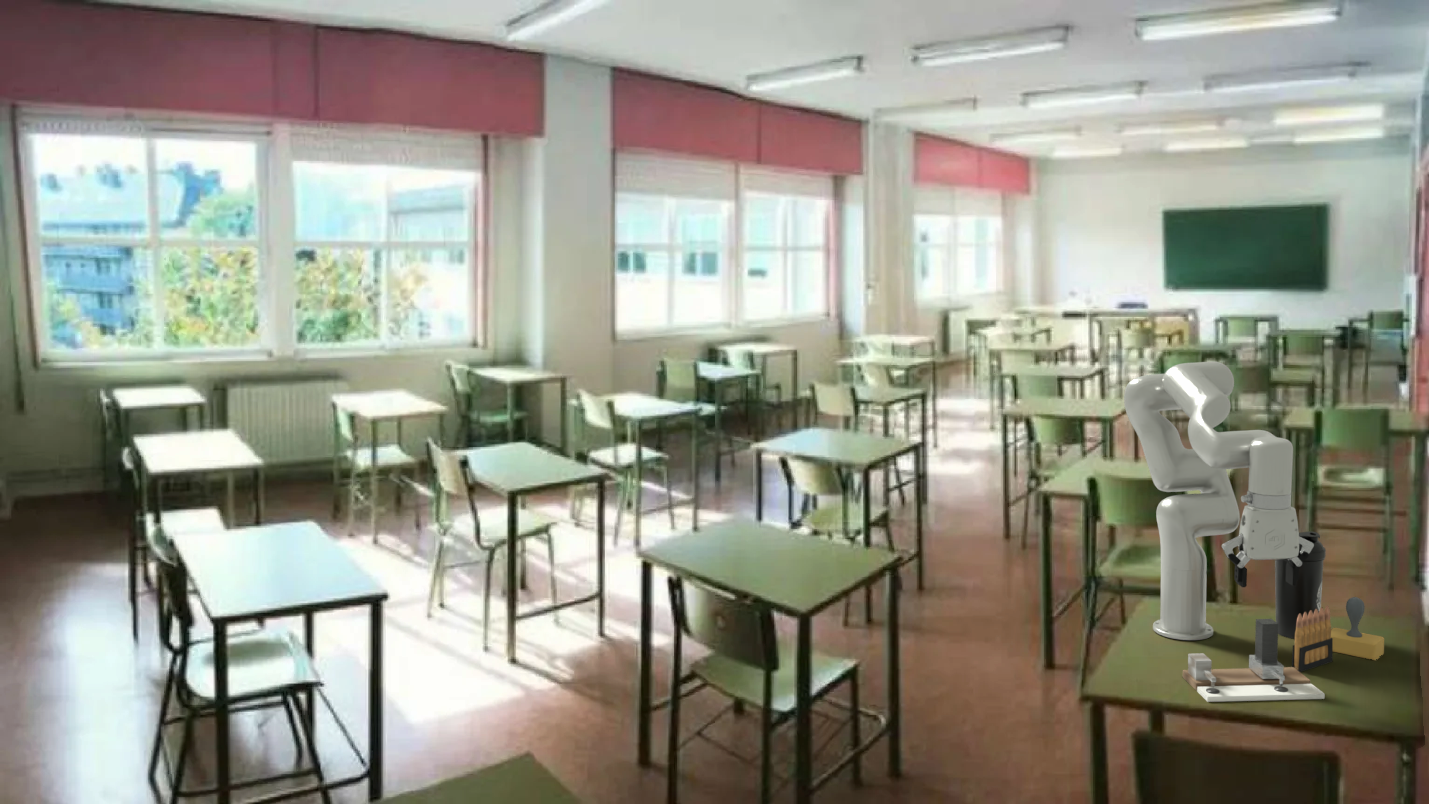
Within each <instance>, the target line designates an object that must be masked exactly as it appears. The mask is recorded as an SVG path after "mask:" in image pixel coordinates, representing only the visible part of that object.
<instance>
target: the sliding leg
mask: <svg viewBox="0 0 1429 804" xmlns="http://www.w3.org/2000/svg"><path fill="white" fill-rule="evenodd" d="M1254 637H1255V642H1254V643H1255V644H1254V647H1255V649H1254V654H1249V655H1248V668H1250V669H1251V670H1252V671H1253V672H1255V673H1256V674H1257V675H1258V676H1259V677H1261V678H1262V679H1279V680H1280V683H1279V685H1280V686H1283V680H1285V676H1284V675H1283V667H1284V664H1283V663H1281V662H1280V661H1278V652H1279V651H1278V649H1279V648H1278V646H1279V645H1278V644H1279V634H1278V623H1276V620H1274V619H1272V618H1255V636H1254Z"/></svg>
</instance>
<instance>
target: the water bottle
mask: <svg viewBox="0 0 1429 804" xmlns="http://www.w3.org/2000/svg"><path fill="white" fill-rule="evenodd" d="M1299 537H1302V538H1304V539H1306V540H1308V541H1310V542H1312V543H1313V544H1314V547H1313V548H1312V550H1311V552H1310V553H1309V556H1308V558H1306V559H1305V560H1304V561H1303V562H1302V565H1301V566H1299V578H1298V580H1297V585H1296V586H1292V585H1291V584H1289V583H1288V582H1286V563H1287V562H1289V560H1288V559H1276V560H1274V572H1275V574H1274V576H1275V579H1274V581H1275V622H1276V623H1278V636H1281V637H1285V638H1288V639H1293V640H1295V631H1296V623H1297V618H1298V615H1299V613H1300V614H1301V616H1302V618H1303V614H1304V612H1306V613H1307V616H1308V614H1309V612H1310V610H1311V611H1312V613H1313V614H1314V611H1315V609H1317V610H1318V613H1319V611H1320V608H1321V607H1322V594H1323V593H1322V591H1323V572H1324V560H1325V559H1326V553H1327V550H1326V547H1324V545H1323V544H1322V543H1321V541H1319V539H1320V538H1321V534H1319V532H1316V531H1302V532H1299ZM1301 549H1302V545H1301V544H1299V551H1300V550H1301Z"/></svg>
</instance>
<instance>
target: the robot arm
mask: <svg viewBox="0 0 1429 804" xmlns="http://www.w3.org/2000/svg"><path fill="white" fill-rule="evenodd" d="M1234 386H1235V379H1234V374H1233V372H1232V371H1231V369H1230V368H1229V367H1228V366H1227V365H1226V364H1224V363H1222V362H1219V361H1199V362H1197V361H1196V362H1184V363H1183V362H1182V363H1178V364H1175V365H1172V366H1171V367H1170V368H1168V369H1167V370H1166V371H1165V372H1164V373H1157V374H1156V373H1155V374H1153V373H1152V374H1147V375H1146V374H1145V375H1141V376H1137V377H1134V378H1133V379H1131V380H1130V381H1129V382H1128V383H1127V385H1126V386H1125V390H1124V395H1123V400H1124V402H1123V403H1124V409H1125V412H1126V415H1127V418H1128V420H1129V422H1130V424H1131V426H1132V428H1133V430H1134V431H1135V433H1136V435H1137V437H1138V440H1139V442H1140V444H1141V447H1142V451H1143V454H1144V458H1145V461H1146V464H1147V469H1148V470H1149V471H1148V472H1149V474H1150V477H1151V480H1152V482H1153V485H1154V486H1155V487H1156V488H1157V490H1159V491H1161V492H1164V493H1165V492H1166V493H1171V492H1172V493H1174V492H1175V493H1177V492H1188V491H1190V492H1192V491H1199V492H1200V493H1187V494H1176V495H1170V496H1167V497H1166V498H1164V499H1161V501H1160V502H1159V503H1158V505H1157V507H1156V511H1155V513H1156V515H1155V516H1156V517H1155V518H1156V522H1157V529H1158V534H1159V542H1160V619H1157V620H1155V621H1154V622H1153V624H1152V630H1153V632H1155V633H1157V634H1158V635H1159V636H1163V637H1164V638H1165V637H1166V638H1169V639H1174V640H1180V641H1201V640H1206V639H1208V638H1210V637H1212V636H1213V635H1214V628H1213V626H1211V625H1210V624H1208V623H1207V621H1206V620H1207V570H1208V569H1207V566H1208V565H1207V562H1208V561H1207V556H1206V552H1205V550H1204V549H1203V547H1202V546H1201V545H1200V543H1199V542H1198V541H1197V538H1200V537H1209V536H1219V535H1228V534H1231V533H1233V532H1235V530H1237V529H1238V526H1239V530H1238V531H1239V532H1238V535H1237V536H1235V537H1233V538H1232V539H1230V540H1227V541H1226V542H1224V543H1222V544H1221V548H1222V551H1223V552H1224V554H1225V556H1226V557H1227V559H1228V560H1229V561H1230V562H1231V563H1232V564H1234V581H1235V582H1236V584H1237V585H1239V586H1240V587H1241V588H1246V587H1247V584H1248V583H1247V582H1248V581H1247V580H1248V579H1247V578H1248V568H1247V567H1246V565H1247V564H1248V563H1249V562H1250V560H1254V561H1265V560H1270V561H1271V560H1273V561H1275V560H1276V559H1288V560H1289V562H1287V563H1286V582H1288V583H1289V584H1291V585H1292V586H1296V585H1297V580H1298V578H1299V566H1301V565H1302V562H1303V561H1304V560H1305V559H1306V558H1308V556H1309V553H1310V552H1311V550H1312V548H1313V547H1314V544H1313V543H1312V542H1310V541H1308V540H1306V539H1304V538H1302V537H1299V533H1300V532H1299V522H1298V516H1297V515H1298V514H1297V511H1296V508H1295V507H1293V506H1292V486H1293V485H1292V483H1293V481H1292V480H1293V464H1294V462H1293V460H1294V459H1293V457H1294V447H1293V443H1292V442H1291V441H1290V440H1289V439H1286V438H1283V437H1277V436H1276V435H1275V434H1272V433H1271V432H1270V431H1267V430H1264V429H1262V430H1261V429H1250V430H1249V429H1248V430H1231V431H1230V430H1229V431H1217V430H1216V429H1214V428H1215V427H1218V426H1219V425H1220V424H1222V423H1223V422H1224V421H1225V420H1226V419H1227V417H1228V416H1229V414H1230V411H1231V409H1232V408H1231V406H1232V405H1231V401H1230V399H1229V397H1230V395H1231V394H1232V393H1233V390H1234ZM1175 410H1182V412H1183V413H1184V414H1186V416H1187V417H1188V418H1189V420H1188V424H1187V425H1188V426H1187V436H1188V439H1189V443H1190V446H1191V448H1190V449H1189V448H1187V447H1185V446H1184V445H1183V442H1182V440H1181V437H1180V436H1181V435H1180V433H1179V430H1178V429H1177V427H1176V426H1175V425H1174V424H1173V423H1172V422H1171V421H1170V420H1169V419H1167V417H1165V415H1162V413H1160V412H1161V411H1175ZM1244 468H1245V469H1248V487H1247V488H1248V489H1247V491H1246V494H1245V495H1241V497H1240V500H1241V501H1240V502H1242V503H1246V504H1247V505H1244V508H1243V510H1242V514H1241V516H1240V510H1239V509H1240V508H1239V506H1238V501H1237V499H1236V495H1235V492H1234V489H1233V486H1232V484H1231V480H1230V477H1229V475H1228V472H1227V470H1232V469H1233V470H1234V469H1244ZM1299 544H1301V545H1302V549H1301V550H1300V551H1299ZM1236 547H1238V551H1239V552H1238V553H1237V554H1236V555H1235V554H1234V551H1233V549H1234V548H1236Z"/></svg>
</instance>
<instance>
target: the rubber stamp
mask: <svg viewBox="0 0 1429 804" xmlns="http://www.w3.org/2000/svg"><path fill="white" fill-rule="evenodd" d="M1365 607H1366V606H1365V603H1364V600H1362V599H1361V598H1359V597H1357V596H1352V597H1350V598H1349V599H1347V601H1346V603H1345V611H1346V613H1347V616H1348V617H1347V618H1349V622H1350V627H1351V628H1350V629H1345V628H1339V627H1331V638H1333V653H1337V654H1343V655H1347V656H1352V657H1355V658H1361V659H1365V658H1366V659H1365V660H1370V659H1372V660H1371V661H1377V660H1378V659H1380V657H1379V656H1381V655H1382V656H1383V655H1384V654H1385V637H1383V636H1380V635H1375V634H1370V633H1365V632H1360V631H1359V624H1360V622H1361V620H1362V619H1363V618H1362V617H1363V616H1364V613H1365V609H1366V608H1365ZM1382 656H1381V657H1382ZM1376 659H1377V660H1376Z"/></svg>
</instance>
